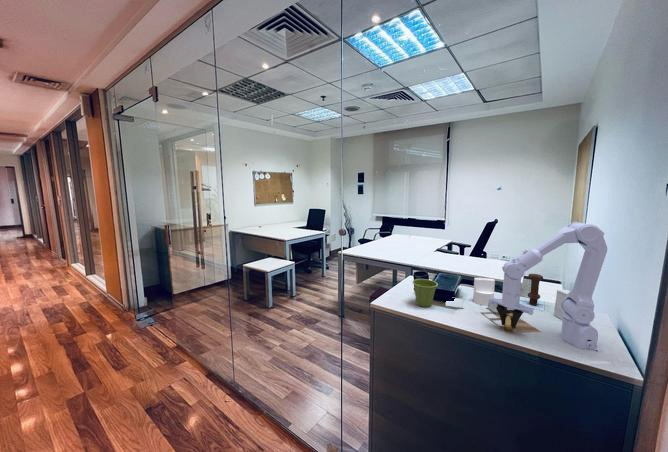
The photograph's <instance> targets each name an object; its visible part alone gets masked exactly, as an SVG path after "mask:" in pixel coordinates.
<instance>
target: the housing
mask: <svg viewBox="0 0 668 452" xmlns="http://www.w3.org/2000/svg"><path fill="white" fill-rule="evenodd" d="M497 306H498V305H496V304H493V303H492V304H491V303H489V299H488V306H487V308H489V309H490V310H492V311H493V312H495V313H496V314H499V313H498V311H497V309H496V307H497ZM489 309H488V310H489ZM490 310H489V311H490ZM507 310H509V311H510V312H511V313H512V312H513V311H515V310H514V309H510V308H507ZM492 311H491V312H492ZM509 311H508V312H509Z"/></svg>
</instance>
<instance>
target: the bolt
mask: <svg viewBox="0 0 668 452" xmlns="http://www.w3.org/2000/svg"><path fill="white" fill-rule="evenodd" d="M528 278H529V279H530V290H529V292H528V293H527V296H528V298H529V305H531V306H538V301H539V299H541V295H540V294H539V291H540V290H539V288H540V287H539V286H540V281H541V280H542V281H543V280H544V276H543V275H541V274H538V273H529V274H528Z"/></svg>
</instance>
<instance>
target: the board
mask: <svg viewBox="0 0 668 452" xmlns="http://www.w3.org/2000/svg"><path fill="white" fill-rule="evenodd" d="M485 308H486V309H485V310H487V309H488V310H489V311H490V312H480V314H481V315H482V316H484V317H485V318H486V319H488V320H489V321H491V322H492V323H493V325H495V326H497V327H498V328H499V329H500V330H502V331H504V332H505V333H506V334H514V333H515V334H516V333H517V334H518V333H528V334H529V333H542V331H541V330H539V329H538V328H536V327H535V326H533V325H531V324H529V323H528V322H527V321H525V320H523V319H522V318H521V317H520V318H519V320H518V322H517V325H516V328H515V329H513V331H512V332H509V331H506V330H504V325H499V324H497V323H496V321H501V318H500V315H499V314H496V313H495V312H493V311H492V310H490V309H489V308H488V307H485ZM486 314H487V315H490V314H491V315H492V314H493V315H494V316H496V317H494V318H493V317H488V316H487V315H486ZM506 314H512V312H510V311H509V310H507V312H506ZM512 315H513V314H512Z"/></svg>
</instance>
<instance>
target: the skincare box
mask: <svg viewBox="0 0 668 452" xmlns="http://www.w3.org/2000/svg"><path fill="white" fill-rule="evenodd" d="M569 292H571V291H570V290H568V289H556V295H555V296H556V298H555V303H554V310H553V316H555V317H556V318H558V319H559V320H562V321H563V314H564V310H563V309H562V307H561V303H562V301H563V300H564V299H565V298H566V297H567V294H568V293H569Z"/></svg>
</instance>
